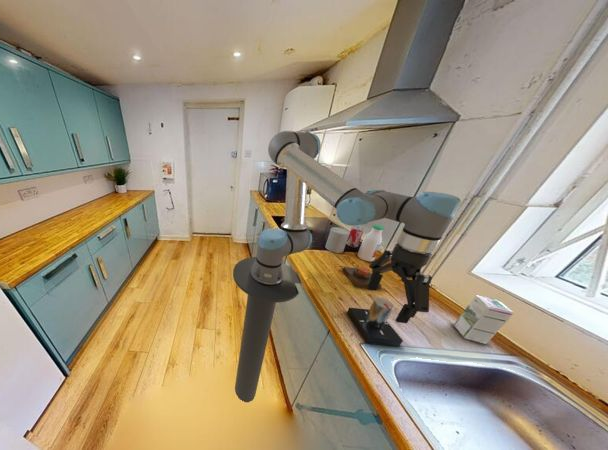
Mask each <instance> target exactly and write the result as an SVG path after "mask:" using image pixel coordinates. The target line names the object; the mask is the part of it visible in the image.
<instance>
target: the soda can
mask: <svg viewBox="0 0 608 450" xmlns="http://www.w3.org/2000/svg"><path fill="white" fill-rule="evenodd" d="M349 232H350V234H349V237H348V240H347V242H346V245H347V246H348V247H351V248H358V247H359V244H360V242H361V239H362V237H363V234H364V228H362V227H360V226H356V225H353V226H351V228H350V230H349Z"/></svg>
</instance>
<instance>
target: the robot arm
mask: <svg viewBox="0 0 608 450" xmlns="http://www.w3.org/2000/svg"><path fill="white" fill-rule="evenodd" d="M321 148H322V143H321V140H320V138H319V136H318V135H317V134H316V133H314V132H311V131H307V130H304V131H299V130H283V131H280V132H278V133H276V134H275V135H274V136H273V137H272V138H271V139H270V141H269V143H268V146H267V152H268V156H269V158H270V160H271V161H272V162H273V163H274V164H275V165H276V166H277V167H279V168H281V169H282V168H283V169H284V168H285V169H286V186H285V187H286V188H285V190H286V191H285V207H284V221H283V222H282V223H281V224H280V228H273V227H271V228H269V227H268V228H265V229H263V230H262V231H261V232H260V234H259V237H258V240H257V250H256V256H255V257H256V260H255V262H254V264H253V265H252V267H251V270H250V275H251V277H252V278H253V279H254V280H255V281H256V282H258V283H260V284H262V285H266V286H276V285H278V284H280V283H281V282H282V279H283V272H282V267H281V264H282V263H283V259H284V257H287V256H291V255H294V254H297V253H301V252H304V251H306V250H307V249H309V248H310V247H311V245H312V242H313V235H312V233H311V231H310V230H309V227H308V224H306V222H305V220H306V207H307V196H308V187H309V188H310V189H311V190H312V191H314V193H316V194H317V195H318V196H319V197H321V198H322V199H323V200H325V201H326V202H327V203H329V204H330V205H331V206H332V207H333V208H334V209H336V211H335V213H336V216H337V218H338V220H339V221H340V222H341V223H342V224H344V225H346V226H351V227H354V226H363V225H367V224H368V223H371V222H375V221H378V220H382V219H383V220H384V219H387V220H391V221H393V222H397V223H402V224H404V226H403V228H402V230H401V232H400V234H399V236H398V238H397V240H396V242H397V243H395V245H394V247H393V249H392V250H388V249H387V250H386V249H385V250H384V251H383V253H382V255H381V256H379V257H378V258H377V259H376V260H375V259H374V261H372V263H370V264H369V266H368V267H369V269H371V274H372V275H371V277H370V282H369V284H368V286H367V288H366V290H367V291H377V290H378V289H377V287H378V285H379V283H380V284H381V281H382V279H383V276H384V275H383V274H384V273H388V272H391V271H392V272H393V273H395V274H397V276H398V277H399V278H400V280H401V282H402V283H403V286H404V291H405V297H406V301H407V302H406V303H403V305H402V307H401V309H400V311H399V313H398V314H397V316H396V318H395V319H394V321H395V322H396V323H398V324H408V322H409V321H410V320H411V319H412V318H415V316H416V315H417V313H418V312H419V313H429V311H430V284H431V282H432V280H433V277H432V275H428V274H424V273H423V272H422V268H424V267H425V266H426V265H427V264H428V263H429V261H430V260H431V258H432V256H433V253H434V252H435V250H436V248H437V247H438V245H439V243H440V242H441V240H442V238H443V236H444V234H445V233H446V231H447V230H448V228H449V227H450V224H452V221H453V220H454V218H456V213H457V212H458V209H459V207H460V205H461V203H462V200H461V199H460V197H458V196H456V195H453V194H449V193H444V192H436V191H422V192H420V193H419V194H418V196H409V195H404V194H400V193H395V192H391V191H386V190H384V189H383V190H382V189H374V188H373V189H372V188H371V189H368V190H366V192H363V191H361V190H360V189H358V188H357V187H356V186H354V185H353V184H351V183H350V182H348V181H346V179H344V178H343V177H341V176H339V175H338V174H337V173H335V172H333V170H330V169H329V168H328V167H326V166H325V165H324V164H321V163H320V162H319V161H317V160H316V158H317V156H318V155H320V152H321ZM390 261H391V262H390Z"/></svg>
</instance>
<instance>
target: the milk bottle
mask: <svg viewBox="0 0 608 450" xmlns="http://www.w3.org/2000/svg"><path fill="white" fill-rule="evenodd" d="M384 229H385V226H384V225H382V224H378V223H377V224H376V223H374V224H373V225H372V227H371V229H370V231H369V232H368V233H366V234H365V236H364V237H363V240H362V242H361V244H360V247H359V249H358V252H357V257H358V258H359V259H360V260H363V261H365V262H374V261H375V259H376V257H377V255H378V252H379V250H380V248H381V245H382V242H383V236H382V235H383V233H382V232H383V231H384Z"/></svg>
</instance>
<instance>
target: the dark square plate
mask: <svg viewBox="0 0 608 450" xmlns="http://www.w3.org/2000/svg"><path fill="white" fill-rule="evenodd" d="M358 269H359V267H348V266H343V268H342V272H343V273H344V275H346V277H347V279H349V280H350V281H351V283H352V284H353V285H354V287H355V288H363V289H367V286H368V284H369V282H370V277H371V275H372V272H370V271H369V273H368V275H367V276H364V275H361V274H359V273H358V272H357V271H358ZM381 288H382V284H381V282H380V283H379V285H378V287H377V289H376V290H381Z"/></svg>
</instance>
